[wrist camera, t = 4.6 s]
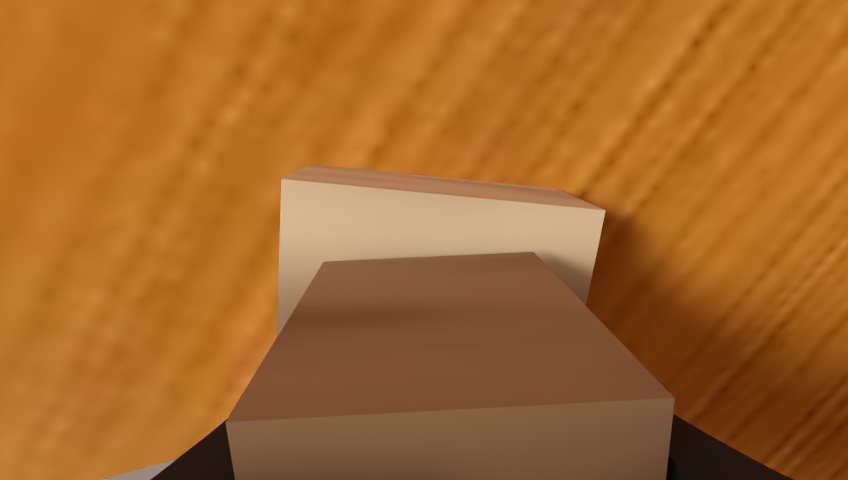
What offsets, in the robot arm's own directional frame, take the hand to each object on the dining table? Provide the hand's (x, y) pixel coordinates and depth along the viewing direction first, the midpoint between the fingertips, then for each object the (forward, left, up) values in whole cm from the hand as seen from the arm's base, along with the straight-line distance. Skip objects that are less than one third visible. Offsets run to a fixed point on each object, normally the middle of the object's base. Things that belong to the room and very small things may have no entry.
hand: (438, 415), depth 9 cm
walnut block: (0, 0, -2) cm, 2 cm away
